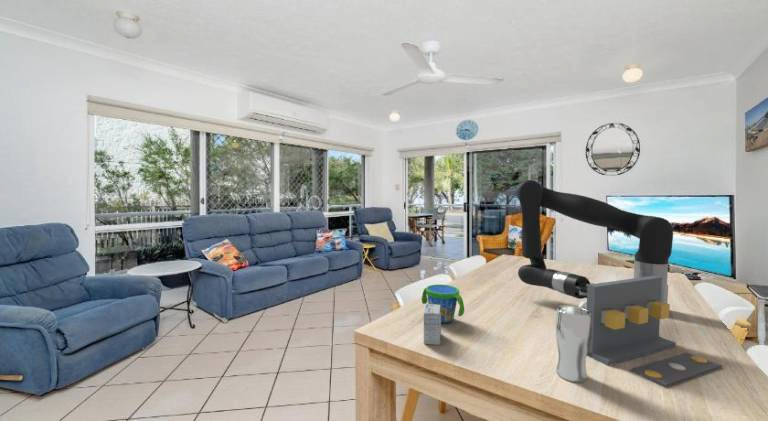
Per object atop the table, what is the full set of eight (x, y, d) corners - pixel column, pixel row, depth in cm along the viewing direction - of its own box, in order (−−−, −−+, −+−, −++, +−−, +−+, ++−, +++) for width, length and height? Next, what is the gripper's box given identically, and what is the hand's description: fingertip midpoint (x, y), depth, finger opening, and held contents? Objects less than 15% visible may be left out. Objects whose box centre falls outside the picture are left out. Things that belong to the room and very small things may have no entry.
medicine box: (439, 345, 89) (440, 314, 89) (423, 344, 90) (423, 312, 90) (440, 333, 97) (441, 304, 96) (425, 332, 98) (425, 303, 97)
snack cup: (471, 324, 104) (472, 291, 104) (448, 331, 98) (448, 297, 98) (436, 309, 117) (437, 280, 116) (413, 315, 111) (414, 285, 110)
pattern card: (686, 354, 85) (686, 351, 85) (721, 367, 79) (722, 364, 79) (630, 371, 77) (630, 367, 77) (665, 387, 71) (665, 383, 71)
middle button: (610, 310, 94) (610, 296, 94) (648, 323, 85) (649, 307, 85) (600, 312, 93) (601, 298, 93) (638, 325, 84) (639, 309, 84)
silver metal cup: (547, 367, 78) (549, 305, 78) (575, 366, 79) (578, 304, 78) (566, 384, 71) (569, 316, 71) (597, 383, 72) (599, 315, 71)
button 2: (630, 306, 98) (631, 293, 98) (669, 318, 89) (670, 303, 89) (621, 308, 96) (622, 294, 96) (660, 320, 87) (661, 305, 87)
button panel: (635, 332, 99) (638, 272, 98) (675, 346, 90) (679, 280, 89) (570, 347, 89) (573, 280, 88) (608, 365, 80) (611, 291, 79)
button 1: (588, 314, 91) (588, 300, 91) (625, 328, 82) (626, 312, 82) (577, 316, 89) (578, 301, 89) (614, 330, 80) (615, 314, 80)
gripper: (556, 275, 111) (608, 289, 95) (584, 271, 116) (637, 284, 100) (555, 297, 112) (607, 315, 96) (583, 293, 117) (636, 309, 101)
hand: (622, 299), depth 98 cm, fingers closed
